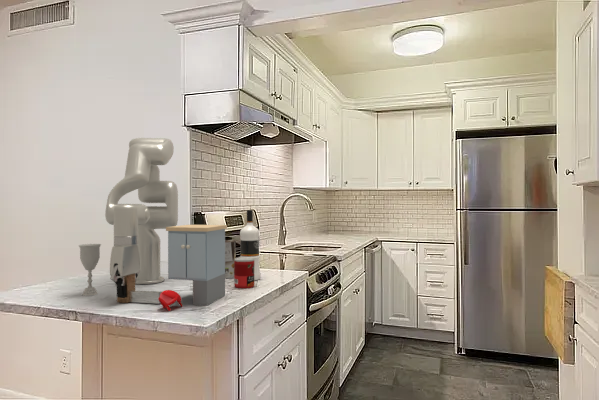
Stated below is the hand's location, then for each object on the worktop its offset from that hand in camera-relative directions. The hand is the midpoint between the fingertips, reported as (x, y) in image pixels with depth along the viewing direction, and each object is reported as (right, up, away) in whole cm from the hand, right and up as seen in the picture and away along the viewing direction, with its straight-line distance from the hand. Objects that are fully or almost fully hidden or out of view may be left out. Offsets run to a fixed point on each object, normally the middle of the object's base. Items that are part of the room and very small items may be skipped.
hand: (126, 295), depth 134 cm
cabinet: (+23, -2, +3) cm, 24 cm away
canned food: (+37, -2, +23) cm, 43 cm away
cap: (+18, -2, -9) cm, 20 cm away
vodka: (+37, -2, +38) cm, 53 cm away
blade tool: (+5, -2, -1) cm, 6 cm away
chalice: (-18, -2, +11) cm, 21 cm away
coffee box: (+26, -2, +44) cm, 52 cm away
